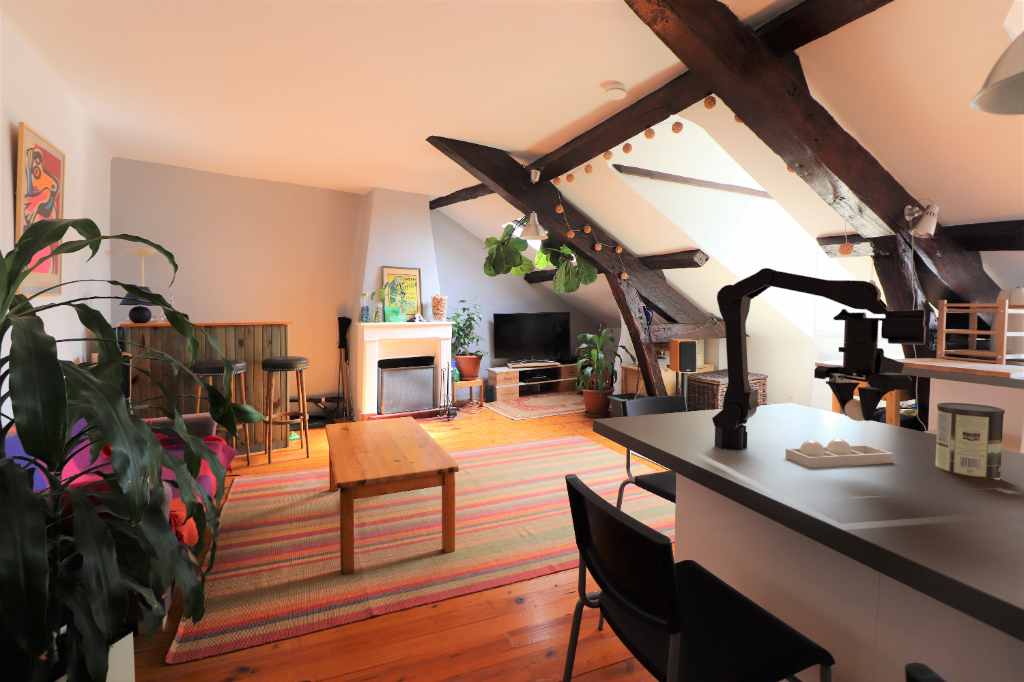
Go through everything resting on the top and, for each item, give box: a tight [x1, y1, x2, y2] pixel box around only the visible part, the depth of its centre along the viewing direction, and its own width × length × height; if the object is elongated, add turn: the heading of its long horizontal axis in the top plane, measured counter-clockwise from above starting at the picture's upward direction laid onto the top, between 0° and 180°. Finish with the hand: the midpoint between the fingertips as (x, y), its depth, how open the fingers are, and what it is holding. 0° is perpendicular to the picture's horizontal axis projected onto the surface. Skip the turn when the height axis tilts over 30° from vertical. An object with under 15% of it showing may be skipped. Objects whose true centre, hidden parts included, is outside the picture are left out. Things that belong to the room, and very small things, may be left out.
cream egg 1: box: [799, 439, 825, 457], centre depth 110 cm, size 5×5×5 cm
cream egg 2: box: [826, 438, 852, 455], centre depth 111 cm, size 5×5×5 cm
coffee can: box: [935, 402, 1006, 481], centre depth 104 cm, size 10×10×14 cm
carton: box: [785, 444, 895, 468], centre depth 111 cm, size 20×7×3 cm, turn 100°
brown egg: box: [845, 398, 865, 422], centre depth 104 cm, size 5×5×5 cm
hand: (857, 418), depth 104 cm, fingers closed on brown egg, 4 cm apart
